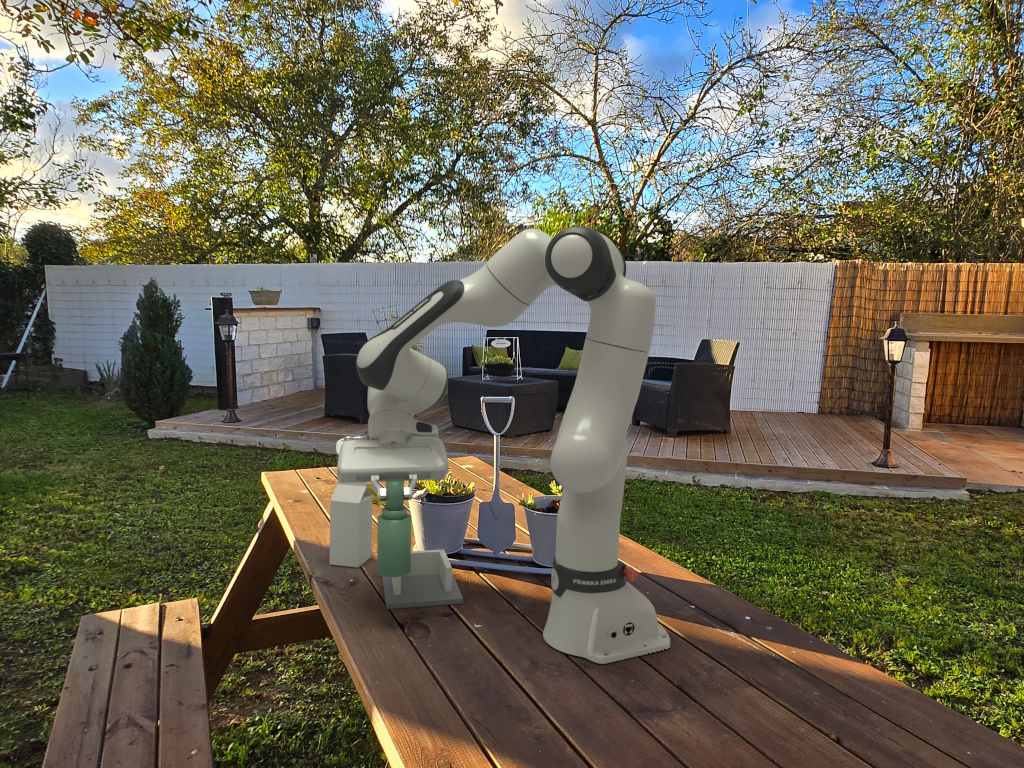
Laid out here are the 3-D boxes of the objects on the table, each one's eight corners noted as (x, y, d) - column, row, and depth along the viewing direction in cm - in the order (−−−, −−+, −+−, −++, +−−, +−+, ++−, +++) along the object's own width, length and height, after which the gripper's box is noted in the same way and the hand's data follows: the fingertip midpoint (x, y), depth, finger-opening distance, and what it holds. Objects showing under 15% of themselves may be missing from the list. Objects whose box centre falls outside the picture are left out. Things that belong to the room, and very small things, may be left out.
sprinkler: (333, 486, 198) (376, 479, 208) (332, 498, 199) (375, 490, 209) (363, 509, 184) (408, 499, 194) (363, 522, 185) (407, 512, 195)
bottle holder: (449, 570, 144) (449, 544, 144) (463, 603, 127) (464, 574, 127) (381, 574, 141) (382, 547, 140) (386, 609, 123) (387, 578, 123)
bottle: (408, 563, 119) (410, 477, 118) (412, 575, 114) (413, 484, 112) (376, 566, 118) (376, 478, 116) (378, 578, 112) (378, 486, 111)
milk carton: (358, 568, 143) (359, 485, 142) (329, 565, 145) (330, 482, 143) (371, 557, 150) (373, 478, 149) (343, 554, 152) (344, 476, 150)
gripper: (335, 427, 118) (334, 492, 109) (445, 425, 123) (453, 487, 114) (335, 446, 122) (334, 510, 114) (442, 444, 128) (448, 505, 119)
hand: (395, 499), depth 114 cm, fingers closed on bottle, 3 cm apart
